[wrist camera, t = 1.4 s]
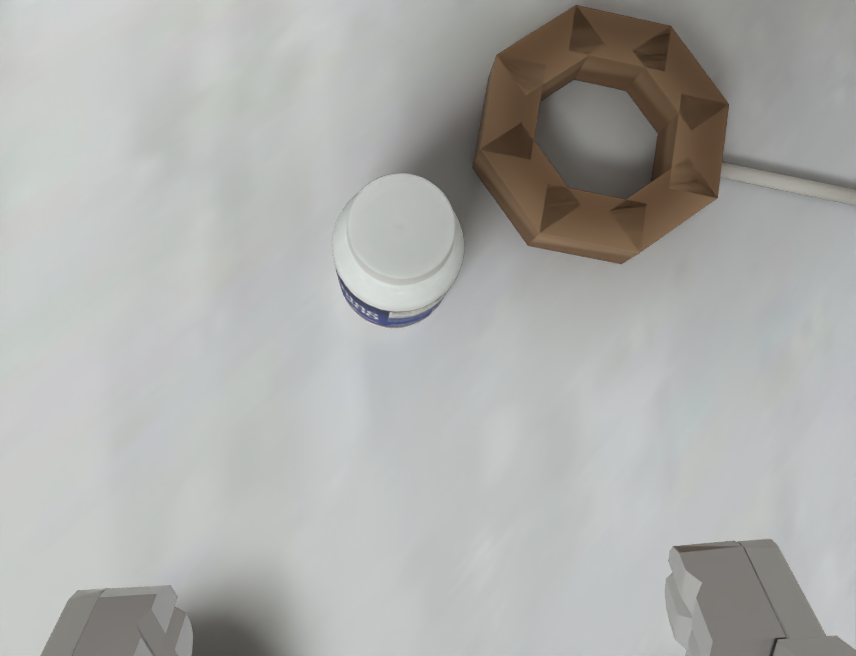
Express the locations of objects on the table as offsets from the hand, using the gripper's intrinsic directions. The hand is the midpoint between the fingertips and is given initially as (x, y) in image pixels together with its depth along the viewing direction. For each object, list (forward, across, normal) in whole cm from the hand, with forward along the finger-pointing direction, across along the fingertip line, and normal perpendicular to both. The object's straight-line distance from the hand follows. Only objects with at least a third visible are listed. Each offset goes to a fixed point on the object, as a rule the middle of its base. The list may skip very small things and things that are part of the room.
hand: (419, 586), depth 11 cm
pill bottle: (+23, +2, +7) cm, 24 cm away
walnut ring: (+28, -9, +3) cm, 30 cm away
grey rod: (+28, -19, +6) cm, 34 cm away
